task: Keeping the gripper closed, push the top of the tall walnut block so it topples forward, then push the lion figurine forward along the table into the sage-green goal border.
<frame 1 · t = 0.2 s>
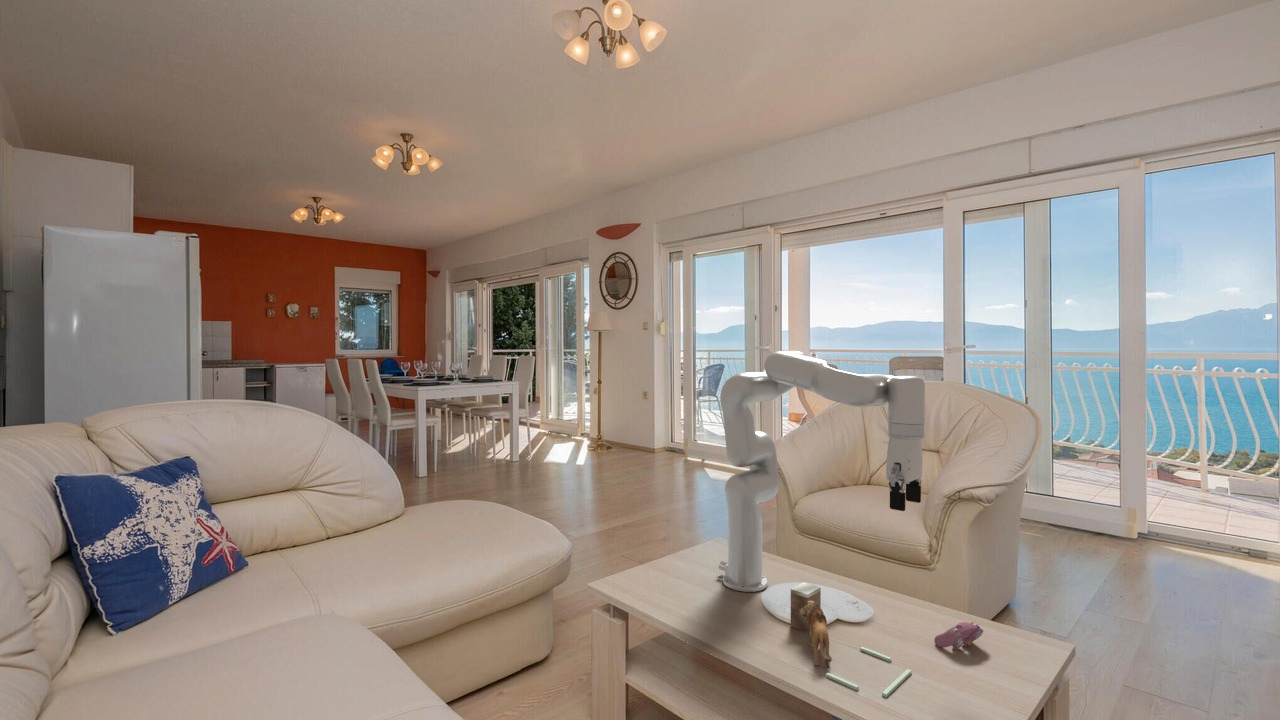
hand: (905, 505, 131), 31 cm above the table, tool pointing down, fingers open, 9 cm apart
walnut block: (805, 625, 139), on the table
lion figurine: (816, 652, 127), on the table
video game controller: (959, 647, 129), on the table
goal border: (870, 672, 118), on the table
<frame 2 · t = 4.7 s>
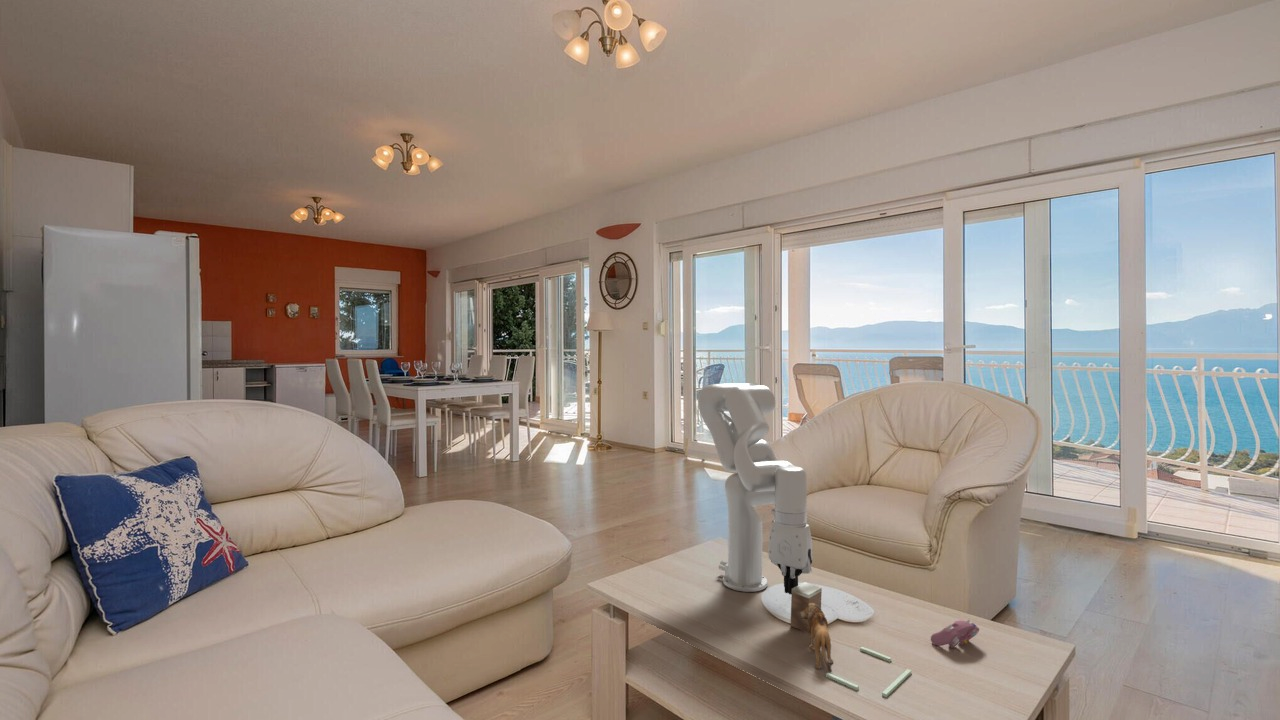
hand: (791, 592, 142), 7 cm above the table, tool pointing down, fingers closed
walnut block: (805, 625, 139), on the table, touching gripper
lion figurine: (818, 655, 126), on the table
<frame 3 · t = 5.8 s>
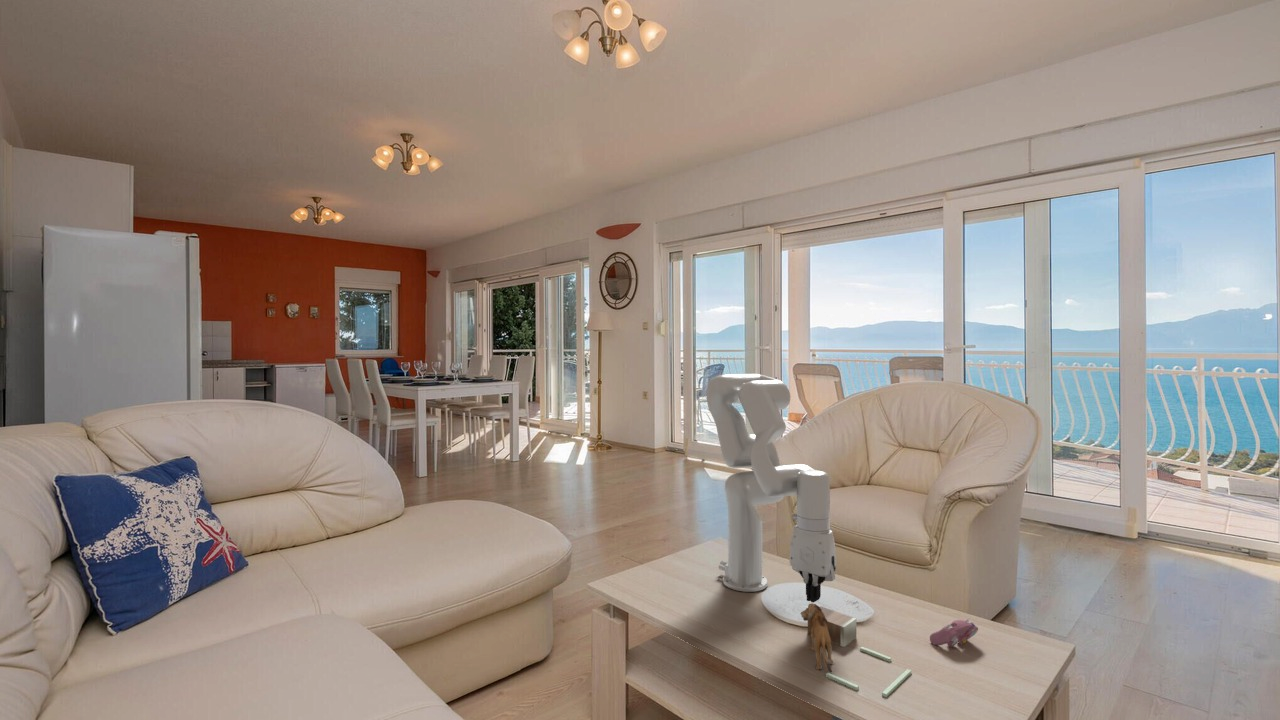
hand: (813, 599, 137), 7 cm above the table, tool pointing down, fingers closed
walnut block: (814, 619, 137), point 2 cm above the table, tilted 90°
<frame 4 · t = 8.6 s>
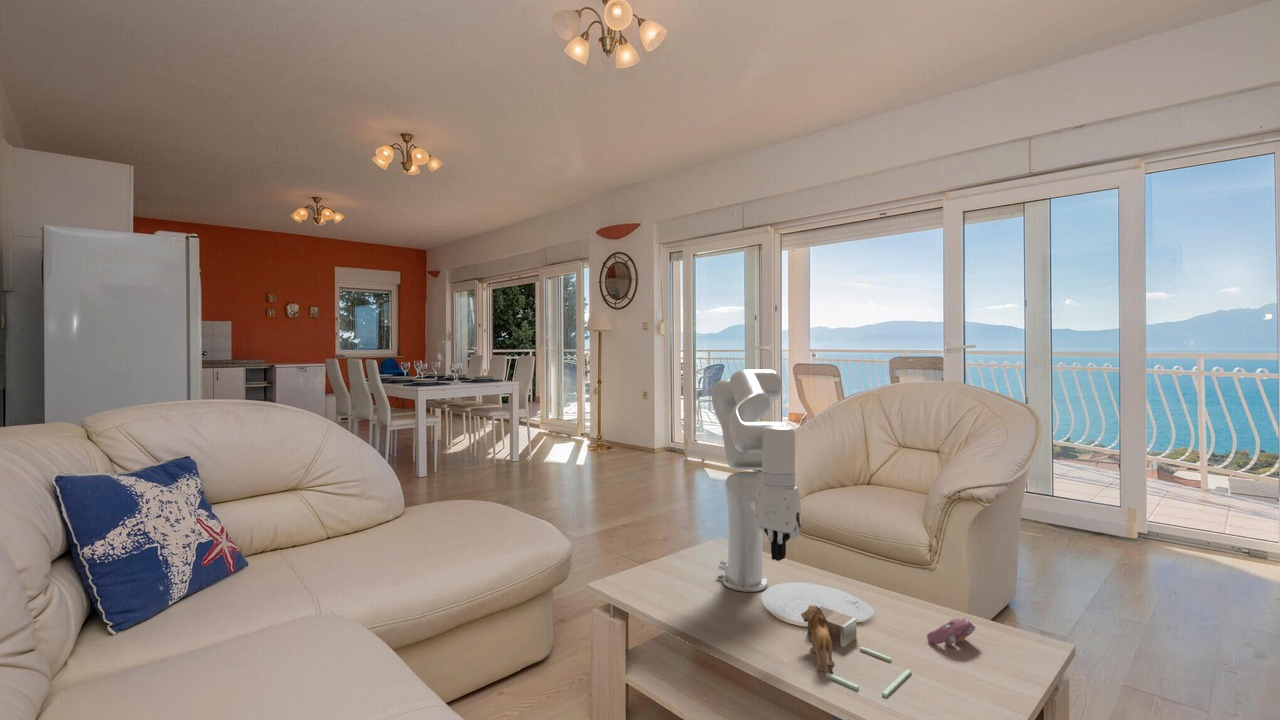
hand: (778, 558, 134), 18 cm above the table, tool pointing down, fingers closed
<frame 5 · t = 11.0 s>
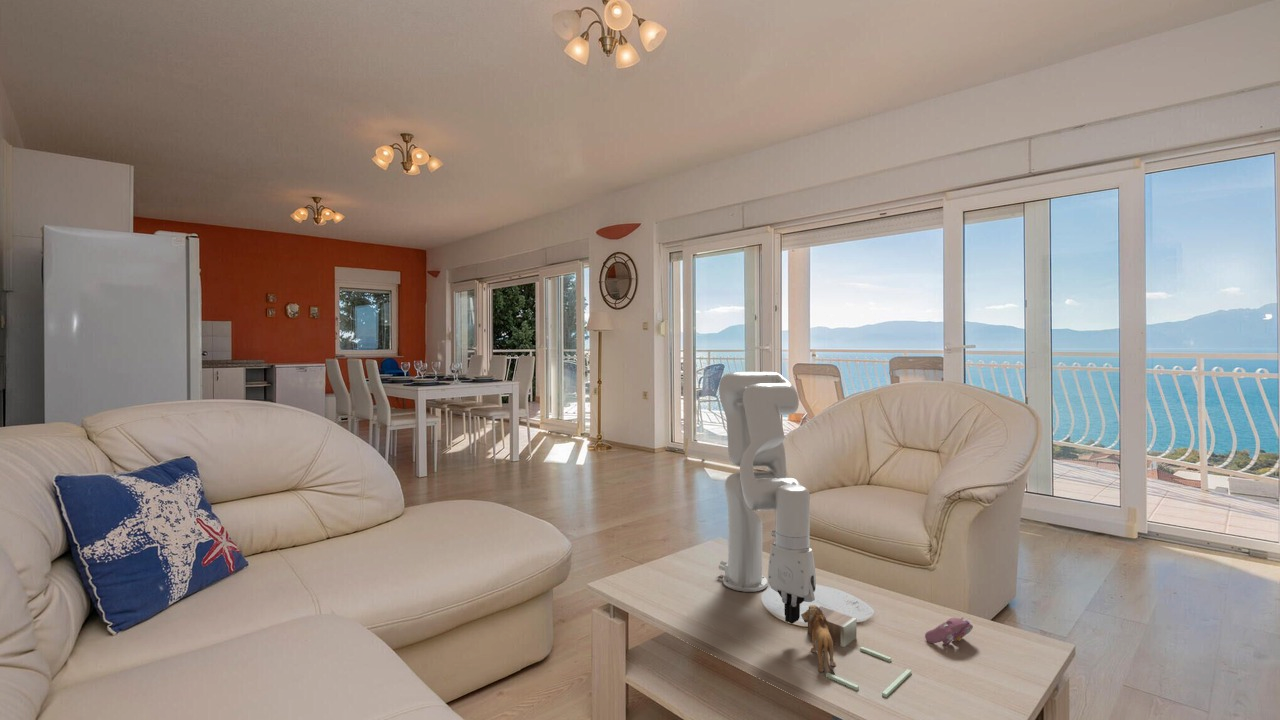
hand: (792, 620, 131), 5 cm above the table, tool pointing down, fingers closed
lion figurine: (819, 658, 125), on the table, touching goal border, gripper
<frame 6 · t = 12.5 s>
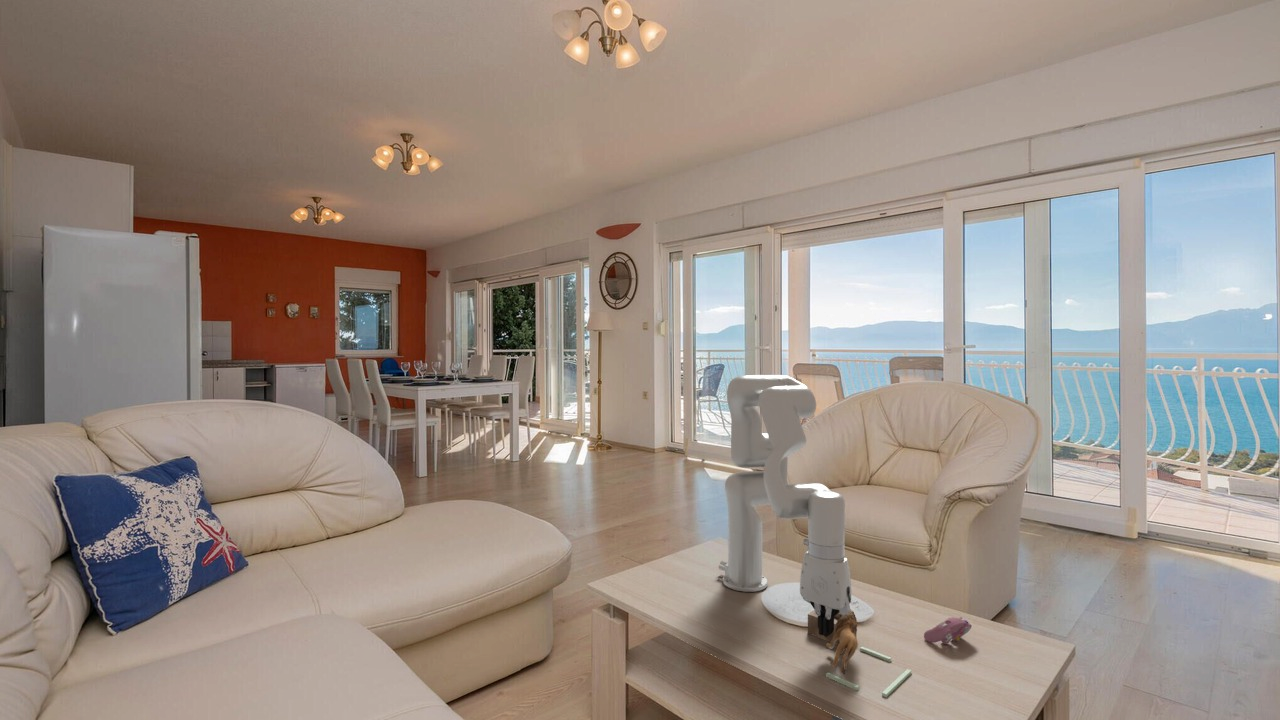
hand: (825, 633, 125), 5 cm above the table, tool pointing down, fingers closed
lion figurine: (832, 655, 123), point 1 cm above the table
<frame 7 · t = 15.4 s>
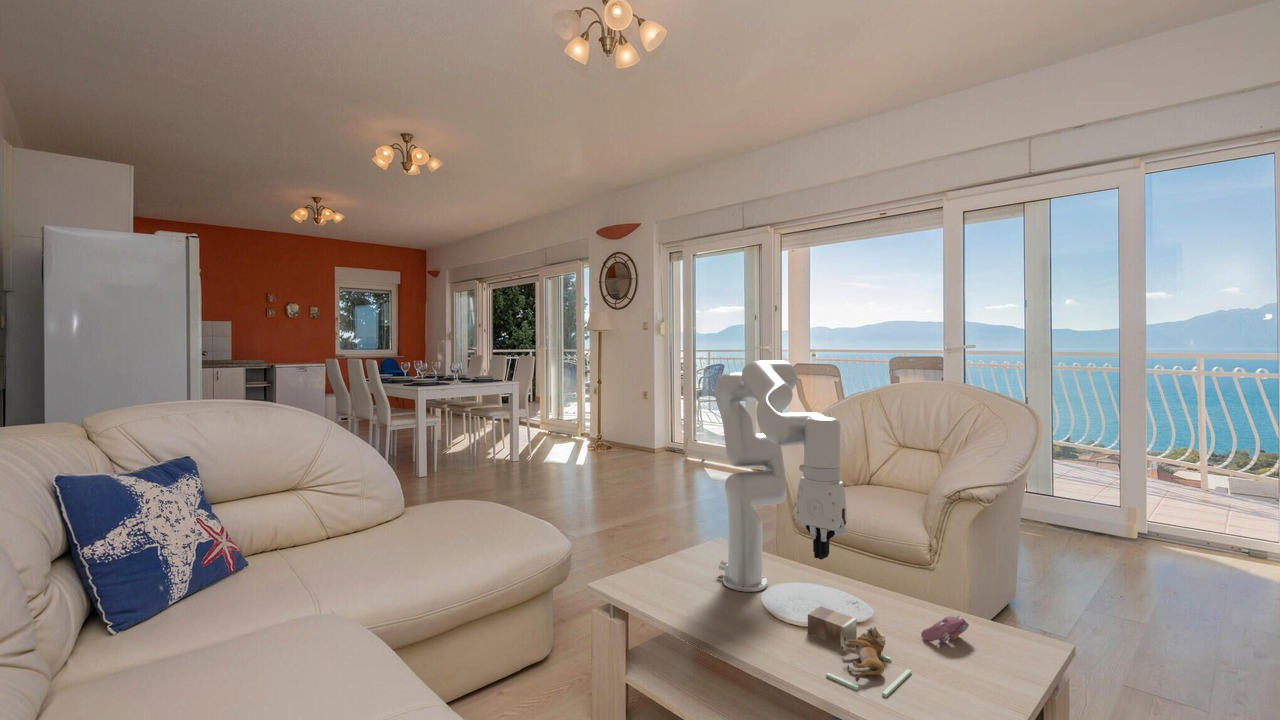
hand: (821, 557, 126), 21 cm above the table, tool pointing down, fingers closed
lion figurine: (845, 649, 122), point 3 cm above the table, touching goal border
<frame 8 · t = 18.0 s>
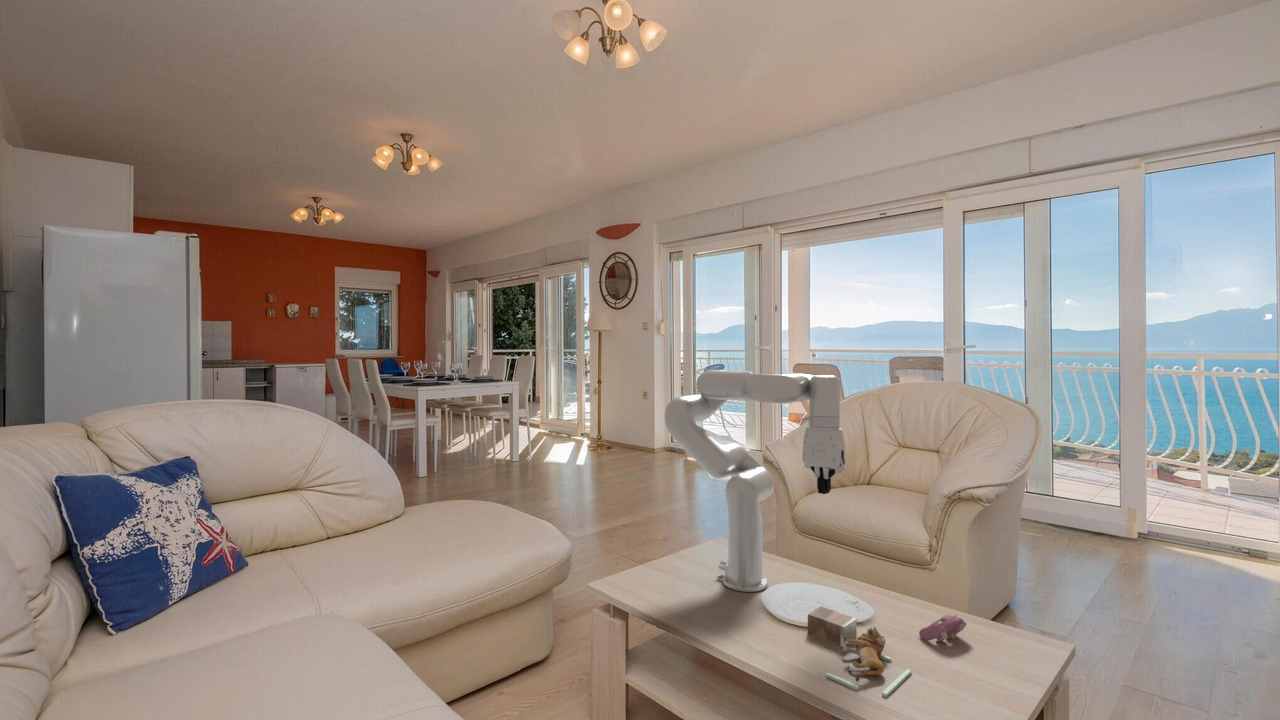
hand: (823, 492, 151), 29 cm above the table, tool pointing down, fingers closed
at the end: walnut block tilted 90°; lion figurine inside the target area (4.1 cm from its centre), point 3.1 cm above the table; lion figurine moved 7.6 cm from its start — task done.
